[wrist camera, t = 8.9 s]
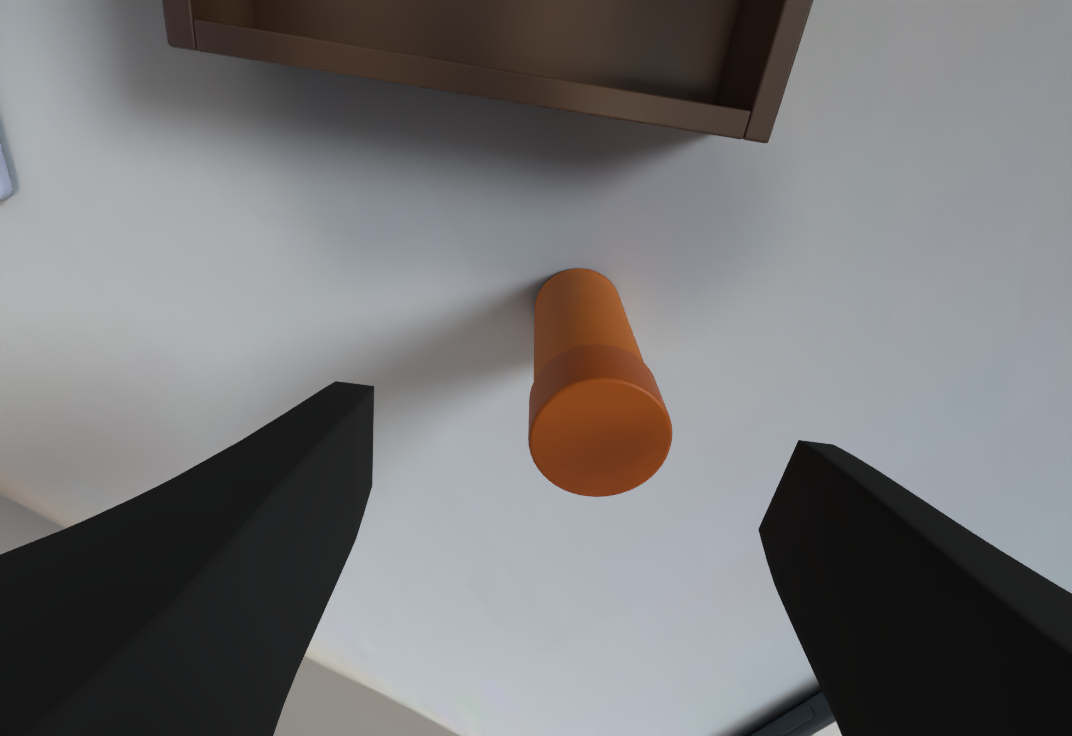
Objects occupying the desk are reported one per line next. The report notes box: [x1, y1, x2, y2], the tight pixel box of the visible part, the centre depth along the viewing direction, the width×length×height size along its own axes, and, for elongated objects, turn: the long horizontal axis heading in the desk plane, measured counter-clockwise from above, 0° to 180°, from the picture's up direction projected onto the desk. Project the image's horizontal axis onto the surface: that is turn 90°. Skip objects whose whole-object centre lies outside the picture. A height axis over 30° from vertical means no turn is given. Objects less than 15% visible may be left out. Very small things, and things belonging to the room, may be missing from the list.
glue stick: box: [528, 268, 672, 497], centre depth 15 cm, size 3×3×8 cm
